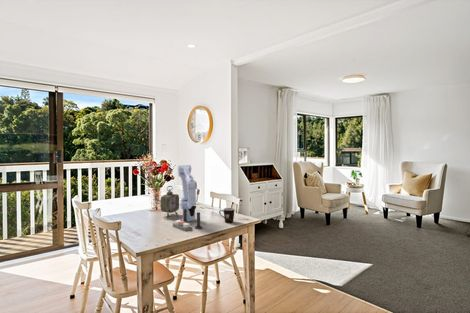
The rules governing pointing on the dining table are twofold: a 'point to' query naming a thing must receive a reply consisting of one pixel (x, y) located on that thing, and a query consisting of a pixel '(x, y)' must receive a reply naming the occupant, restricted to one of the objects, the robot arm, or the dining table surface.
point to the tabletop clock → (169, 202)
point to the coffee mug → (228, 214)
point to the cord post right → (198, 221)
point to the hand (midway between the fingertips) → (192, 216)
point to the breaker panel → (182, 226)
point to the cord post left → (185, 215)
